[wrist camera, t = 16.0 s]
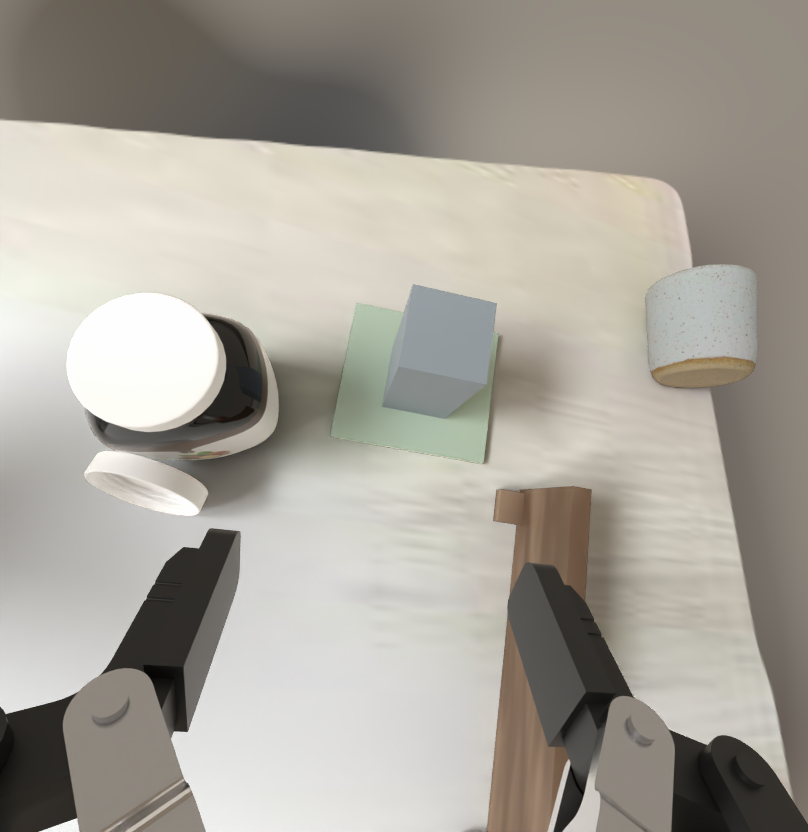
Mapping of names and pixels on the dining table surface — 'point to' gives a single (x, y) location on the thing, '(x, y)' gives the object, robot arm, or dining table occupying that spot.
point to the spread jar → (168, 396)
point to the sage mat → (396, 428)
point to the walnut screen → (517, 717)
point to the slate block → (439, 352)
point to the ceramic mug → (703, 326)
